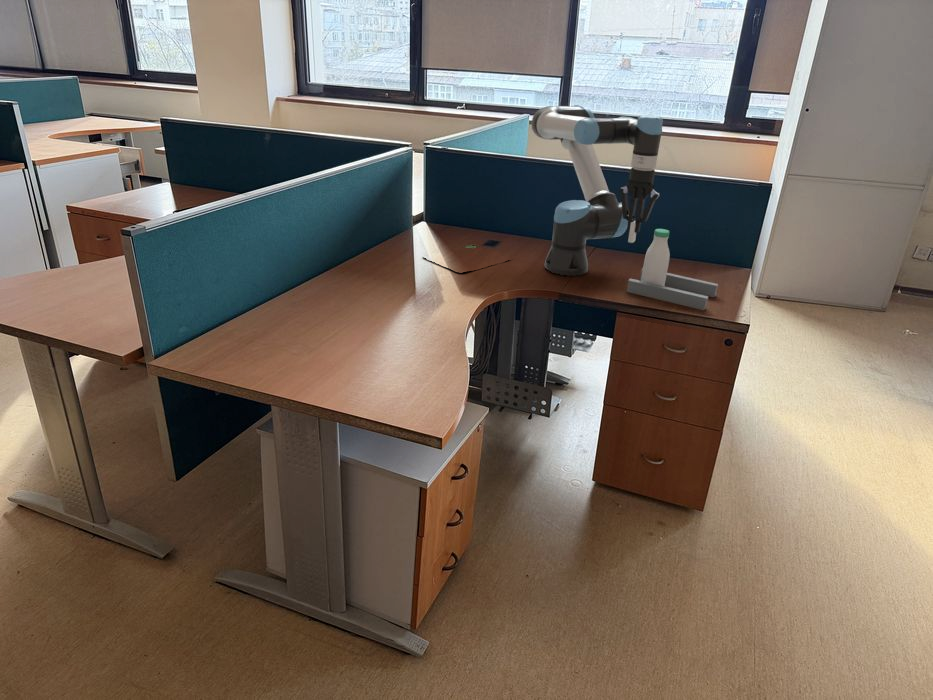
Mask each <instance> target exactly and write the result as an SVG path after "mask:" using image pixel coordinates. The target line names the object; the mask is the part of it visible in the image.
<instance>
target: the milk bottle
mask: <svg viewBox="0 0 933 700" xmlns="http://www.w3.org/2000/svg"><path fill="white" fill-rule="evenodd" d="M653 233H654V234H653V240H652V243H651V244H650V245H649V247H648V248H647V250H646V253H645V257H644V261H643V267H642V268H643V272H642V277H641V280H640V281H643V282H648V283H652V284H656V285H661V286H665V281H666V276H667V273H668V271H669V264H670V257H671V254H670V248H669V245H668V239H669V237H670V230H668V229H664V228H656V229H654V232H653ZM665 287H666V286H665Z"/></svg>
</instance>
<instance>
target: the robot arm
mask: <svg viewBox="0 0 933 700" xmlns="http://www.w3.org/2000/svg"><path fill="white" fill-rule="evenodd" d="M663 121H664V120H663V117H661V115H654V114H640V115H639V116H638V117H637V118H634V117H632V116H619V117H617V118H616V117H615V118H614V117H613V118H612V117H611V118H600V117H599V118H596V117H595V115H594V113H593V111H592V109H590V108H589V107H588V106H584V105H579V104H578V105H577V104H576V105H572V106H570V105H549V106H545V107H544V106H543V107H541V108H540V109H538V110H537V111H536V112H535V113H534V114H533V116H532V118H531V130H532V131H533V133H534V134H535V136H537V137H538V138H540V139H543V140H556V141H557V140H560V143H561V146H562V147H563V149H565V150H567V151H568V152H569V156H570V158H571V161H572V165H573V168H574V171H575V174H576V176H577V180H578V181H579V186H580V188H581V190H582V193H583V196H584V199H585V200H584V199H583V200H582V199H578V200H577V199H571V200H566V201H563V202H560V203H558V205H557V206H556V208H555V210H554V215H553V227H552V228H553V229H552V236H551V237H552V239H551V246H550V248H549V251H548V253H547V256H546V258H545V261H544V266H545V267H544V269H545V268H546V269H547V270H549V271H551V272H553V273H552V274H554V273H556V274H555V275H557V274H560V275H559V276H563V275H567V276H566V277H577V275H578V276H582V275H585V274H586V273H587V272H588V269H589V263H588V255H587V253H586V245H587V240H596V239H598V240H599V239H607V238H608V239H613V238H616V237H621V236H622V235H624V233H625V232H626V231H627V232H628V239H627V242H628V243H630V244H633V243H635V241H636V237H637V234H638V233H639V232H640V231H641V227H642V226H641V225H642V223H645V222H647V221H648V219H649V218H650V217H649V216H650V214H651V212H652V210H653V209H654V208H653V207H654V205H655V203H656V201H657V199H658V198H659V197H660V196H661V193H660V192H657V191H656V190H655V187H654V180H655V174H656V171H655V168H657V161H658V154H659V148H660V143H661V138H662V133H663V123H664V122H663ZM600 144H608V145H609V144H610V145H611V144H629V145H632V146H633V149H632V156H631V163H630V165H631V167H630V170H629V175H628V176H629V177H628V182H627V183H626V185H625V186H622V187H620V188H619V189H618V192H619V194H620V199H621V201H620V202H619V201H618V199H617V196H616V194H615V193H613V192H610V190H609V187H608V185H607V181H606V179H605V177H604V174H603V171H602V168H601V165H600V162H599V159H598V157H597V154H596V152H595V148H594V146H593V145H600ZM628 193H629V195H630V204H629V200H628V199H629V198H628ZM649 195H650V199H649V201H648V204H647V206H646V208H645V204H646V203H645V202H646V201H647V200H646V199H647V197H648V196H649ZM637 203H638V204H637ZM629 205H630V206H629ZM637 205H638V206H637ZM636 208H637V212H636ZM644 209H645V210H644ZM635 214H636V215H635ZM635 217H636V218H635ZM546 269H545V270H546ZM547 270H546V271H547ZM549 271H548V272H549ZM551 272H550V273H551ZM570 275H571V276H570Z"/></svg>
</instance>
